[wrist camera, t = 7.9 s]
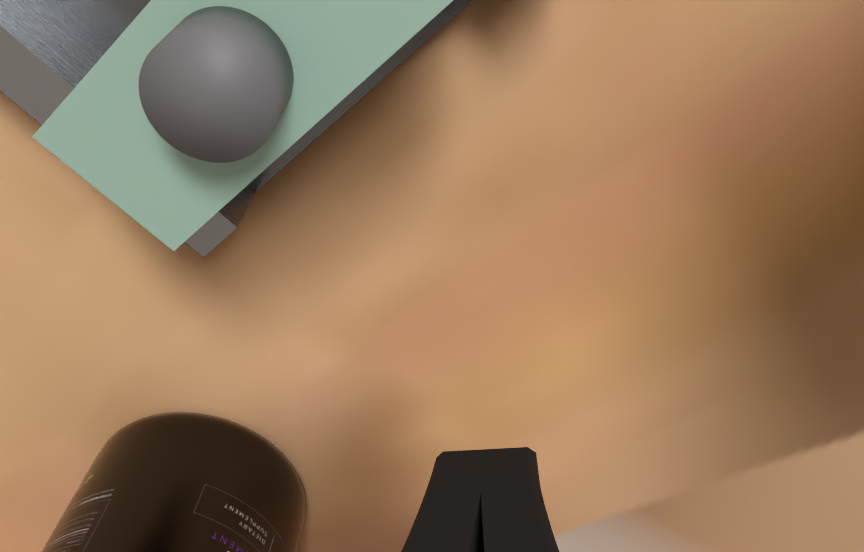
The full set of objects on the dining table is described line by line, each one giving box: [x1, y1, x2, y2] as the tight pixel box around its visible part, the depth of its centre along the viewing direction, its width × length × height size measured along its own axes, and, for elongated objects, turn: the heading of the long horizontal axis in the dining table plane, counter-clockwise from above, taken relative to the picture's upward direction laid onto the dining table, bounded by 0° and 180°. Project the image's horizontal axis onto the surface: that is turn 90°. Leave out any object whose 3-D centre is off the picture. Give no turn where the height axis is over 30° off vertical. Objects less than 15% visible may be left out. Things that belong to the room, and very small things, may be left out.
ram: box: [32, 0, 453, 251], centre depth 14 cm, size 3×7×5 cm, turn 133°
